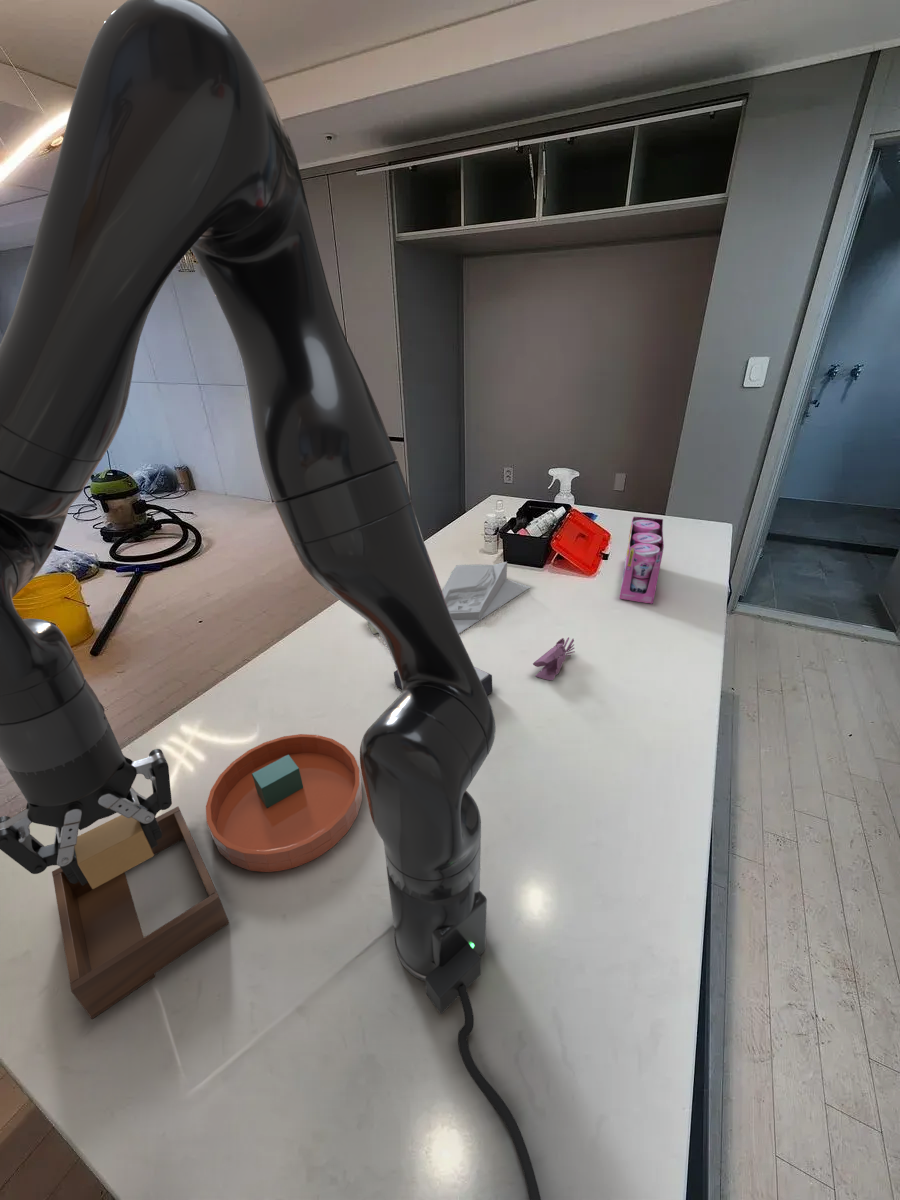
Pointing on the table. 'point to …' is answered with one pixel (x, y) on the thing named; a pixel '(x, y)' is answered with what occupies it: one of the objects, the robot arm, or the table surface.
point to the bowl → (285, 805)
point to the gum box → (642, 560)
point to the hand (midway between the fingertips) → (120, 858)
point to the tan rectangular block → (111, 849)
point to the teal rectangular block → (277, 780)
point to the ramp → (478, 592)
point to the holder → (127, 929)
